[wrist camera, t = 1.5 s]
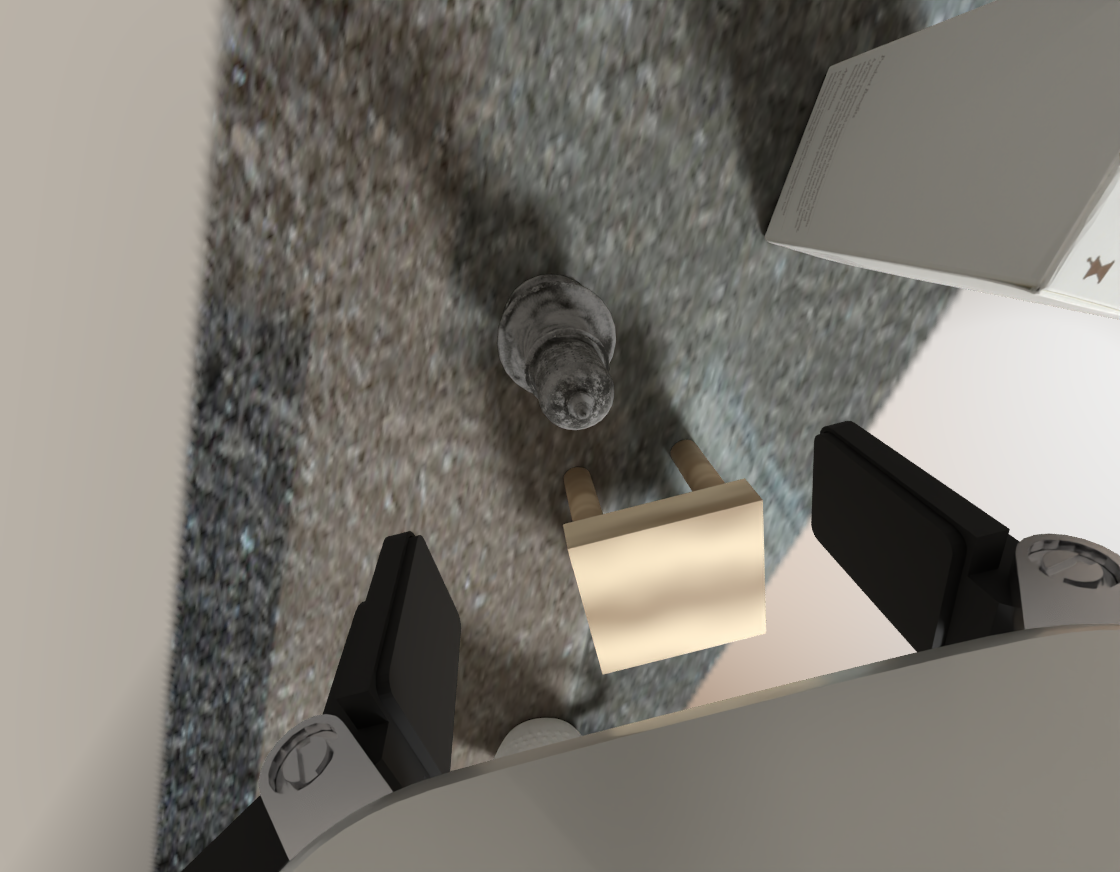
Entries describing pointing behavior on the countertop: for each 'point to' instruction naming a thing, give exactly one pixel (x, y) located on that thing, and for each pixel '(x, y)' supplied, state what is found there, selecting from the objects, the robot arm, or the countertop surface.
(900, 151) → the skincare box
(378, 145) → the countertop surface
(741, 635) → the stool
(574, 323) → the salt shaker
